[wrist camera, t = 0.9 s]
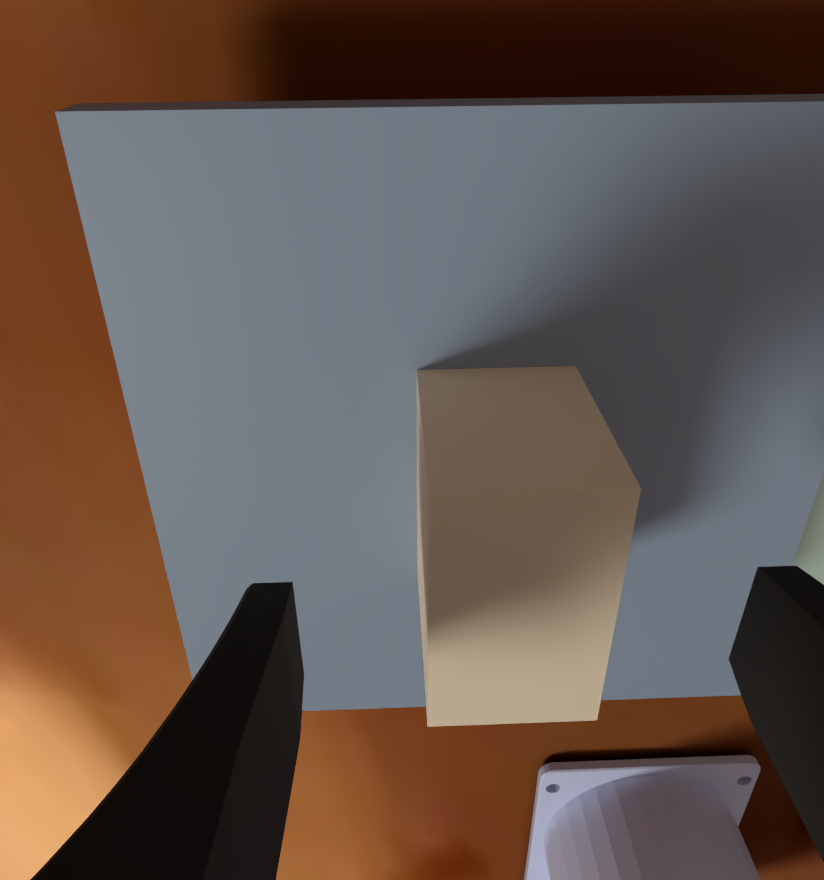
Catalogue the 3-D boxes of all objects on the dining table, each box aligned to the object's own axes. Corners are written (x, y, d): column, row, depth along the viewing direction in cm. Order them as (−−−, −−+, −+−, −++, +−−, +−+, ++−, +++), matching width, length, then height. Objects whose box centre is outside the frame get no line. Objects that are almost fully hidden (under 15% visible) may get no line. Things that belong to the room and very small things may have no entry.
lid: (730, 664, 20) (828, 849, 15) (208, 682, 19) (159, 878, 15) (912, 92, 12) (1195, 141, 8) (78, 102, 12) (-91, 161, 8)
